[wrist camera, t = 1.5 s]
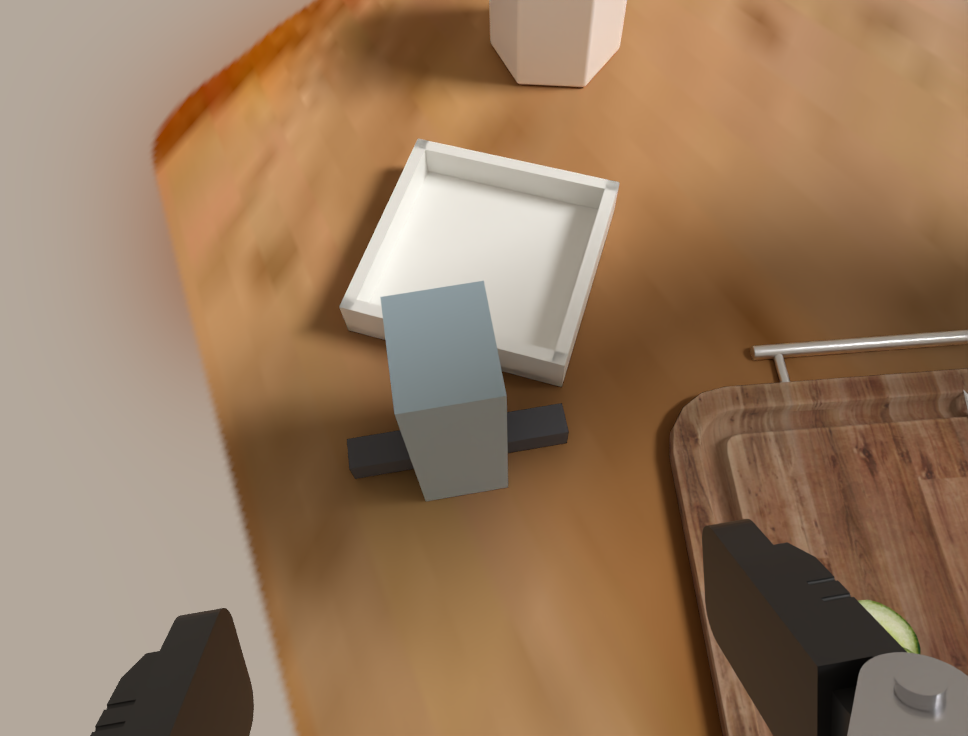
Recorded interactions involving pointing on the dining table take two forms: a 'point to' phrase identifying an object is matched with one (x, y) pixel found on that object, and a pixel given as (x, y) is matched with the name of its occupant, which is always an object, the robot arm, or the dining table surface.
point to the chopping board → (839, 491)
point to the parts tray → (490, 249)
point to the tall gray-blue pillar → (448, 388)
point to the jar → (556, 38)
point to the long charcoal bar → (522, 434)
